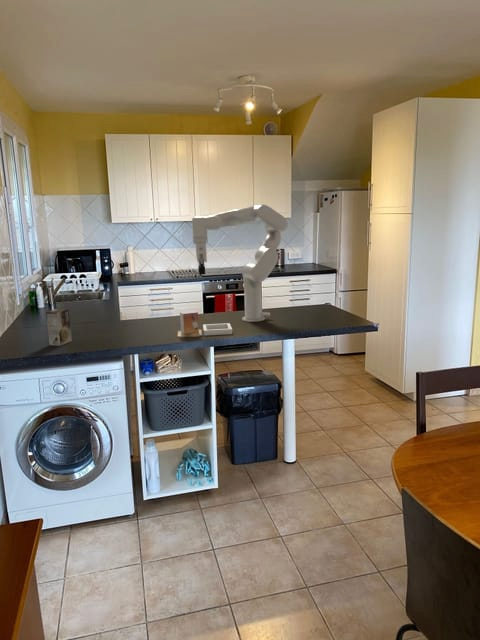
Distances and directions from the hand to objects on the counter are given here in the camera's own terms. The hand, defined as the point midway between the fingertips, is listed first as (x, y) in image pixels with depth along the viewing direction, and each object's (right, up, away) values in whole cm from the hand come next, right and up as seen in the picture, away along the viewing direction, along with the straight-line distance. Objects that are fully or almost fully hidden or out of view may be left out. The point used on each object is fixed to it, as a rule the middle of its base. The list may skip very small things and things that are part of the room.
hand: (201, 273), depth 256 cm
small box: (-5, -31, -12) cm, 34 cm away
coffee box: (-66, -36, -23) cm, 79 cm away
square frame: (+9, -31, -9) cm, 33 cm away
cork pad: (-5, -32, -12) cm, 34 cm away
